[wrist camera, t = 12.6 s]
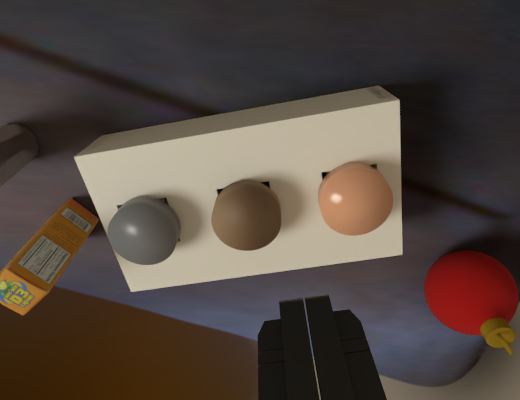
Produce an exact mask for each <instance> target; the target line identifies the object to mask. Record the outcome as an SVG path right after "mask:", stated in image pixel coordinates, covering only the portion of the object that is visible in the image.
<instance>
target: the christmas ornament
mask: <svg viewBox="0 0 520 400" xmlns="http://www.w3.org/2000/svg"><path fill="white" fill-rule="evenodd" d="M424 293H425V298H426V301H427V304H428V306H429V308H430V310H431V311H432V313H433V314H434V315H435V316H436V318H437V319H438V320H439V321H440V322H442V323H443V324H444V325H446V326H447V327H449V328H451V329H453V330H455V331H457V332H460V333H463V334H467V335H483V336H484V338H485V339H486V342H487V343H488V344H489V345H490V346H492V347H497V348H500V347H505V348H506V350H507V351H508V353H509V354H510V355H511V354H513V351H512V350H511V348H510V347H509V344H510V343H512V342H513V340H514V339H515V336H516V335H515V331H514V330H513V329H511V327H510V326H509V325H508V323H509V322H510V321H511V319H512V318H513V316H514V314H515V312H516V310H517V307H518V299H519V296H518V288H517V285H516V282H515V280H514V278H513V276H512V275H511V273H510V272H509V270H508V269H507V268H506V267H505V266H504V265H503V264H502V263H500V262H499V261H498V260H496V259H495V258H493V257H491V256H489V255H487V254H484V253H481V252H477V251H470V250H462V251H455V252H451V253H449V254H446V255H444V256H442V257H441V258H439V259H438V260H437V261H436V262H435V263H434V264H433V265H432V266H431V268H430V269H429V271H428V273H427V275H426V278H425V283H424Z"/></svg>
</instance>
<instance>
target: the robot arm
mask: <svg viewBox="0 0 520 400" xmlns="http://www.w3.org/2000/svg"><path fill="white" fill-rule="evenodd" d="M305 303H306V309H307V316H308V322H309V329H310V335H311V341H312V348H313V354H314V360H315V366H316V371H317V377H318V383H319V389H320V395H321V400H387V399H386V396H385V393H384V390H383V387H382V384H381V381H380V378H379V375H378V372H377V369H376V366H375V363H374V360H373V357H372V354H371V352H370V348H369V345H368V342H367V340H366V336H365V333H364V330H363V327H362V324H361V321H360V320H359V319H358V318H357V317H356V316H355V315H354V314H353V313H352V312H351V311H350V310H341V311H334V312H333V310H332V306H331V302H330V298H329V295H328V294H326V295H319V296H312V297H305ZM279 305H280V317H281V319H277V320H270V321H264V324H263V326H262V328H261V330H260V332H259V334H258V366H259V367H258V393H259V394H258V395H259V396H258V399H259V400H319V395H318V389H317V382H316V377H315V371H314V364H313V358H312V352H311V346H310V340H309V334H308V328H307V321H306V315H305V309H304V303H303V298H298V299H291V300H284V301H279Z"/></svg>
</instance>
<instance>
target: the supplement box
mask: <svg viewBox="0 0 520 400" xmlns="http://www.w3.org/2000/svg"><path fill="white" fill-rule="evenodd" d="M98 222H99V218H97V217H96V216H95V215H94V214H92V213H91V212H90V211H88V210H87V209H86V208H84V207H83V206H82V205H80V204H79V203H78V202H76V201H75V200H73V199H72V198H70V199H68V200H67V201H66V202H65V203H64V204H63V205H62V206H61V207H60V208H59V209H58V210H57V211H56V212H55V214H54V215H53V216H52V217H51V218H50V219H49V220H48V221H47V222H46V223H45V224H44V225H43V226H42V227H41V228H40V229H39V230H38V231H37V232H36V233H35V234H34V235H33V237H32V238H31V239H30V240H29V241H28V242H27V243H26V244H25V245H24V246H23V247H22V248H21V249H20V251H19V252H18V253H17V254H16V255H15V256H14V257H13V258H12V259H11V260H10V261H9V263H8V264H7V265H6V266H5V267H4V268H3V269H2V270H1V271H0V303H1V304H3V305H5V306H6V307H8V308H10V309H12V310H13V311H15V312H17V313H19V314H21V315H25V314H26V313H27V312H28V311H29V310H30V309H32V308H33V307H34V306H35V305H36V304H37V303H38V302H39V301H40V300H41V299H42V298H43V297H44V296H45V295H47V294H48V293H49V292H50V290H51V289H52V287H53V286H54V284H55V283H56V281H57V280H58V278H59V277H60V276H61V274H62V273H63V271H64V270H65V268H66V267H67V266H68V264H69V263H70V261H71V260H72V259H73V257H74V256H75V254H76V253H77V251H78V250H79V248H80V247H81V246H82V244H83V243H84V241H85V240H86V239H87V237H88V236H89V234H90V233H91V231H92V230H93V229H94V227H95V226H96V224H97V223H98Z"/></svg>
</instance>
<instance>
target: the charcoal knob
mask: <svg viewBox="0 0 520 400" xmlns="http://www.w3.org/2000/svg"><path fill="white" fill-rule="evenodd" d="M180 232H181V226H180V221H179V218H178V216H177V215H176V213H175V212H174V210H173V209H172V208H171V207H170V206H169V204H168V201H167V198H160V199H155V198H151V197H136V198H133V199H130V200H128V201H126V202H125V203H124V204H123V205H122V206H121V207H120V208H119V210H118V211H117V212H116V214H115V215H114V216H113V218H112V219H111V221H110V223H109V226H108V239H109V241H110V244H111V246H112V247H113V249H114V250H115V251H116V252H117V253H118V254H119V255H120V256H121V257H123V258H124V259H126V260H128V261H130V262H133V263H135V264H140V265H154V264H158V263H161V262H163V261H164V260H166V259H167V258H168V257H170V255H171V254H172V253H173V251H174V249H175V246H176V244H177V241H178V238H179V236H180Z"/></svg>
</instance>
